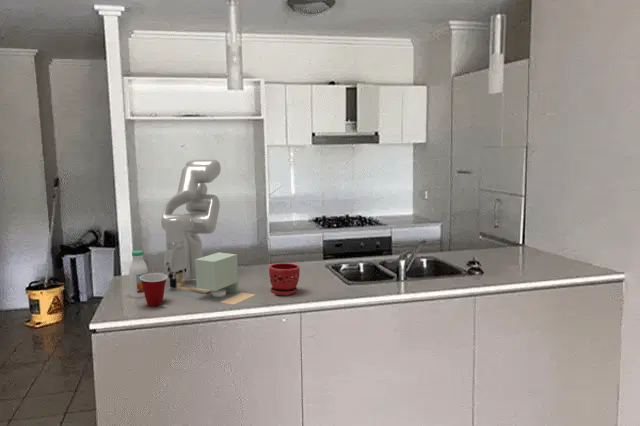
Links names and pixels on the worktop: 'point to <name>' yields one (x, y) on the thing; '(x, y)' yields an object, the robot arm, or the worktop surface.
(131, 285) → the milk bottle
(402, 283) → the worktop surface
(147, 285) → the plastic cup
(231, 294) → the board
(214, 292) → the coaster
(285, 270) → the plant pot
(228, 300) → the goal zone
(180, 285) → the block
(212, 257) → the shelf block
